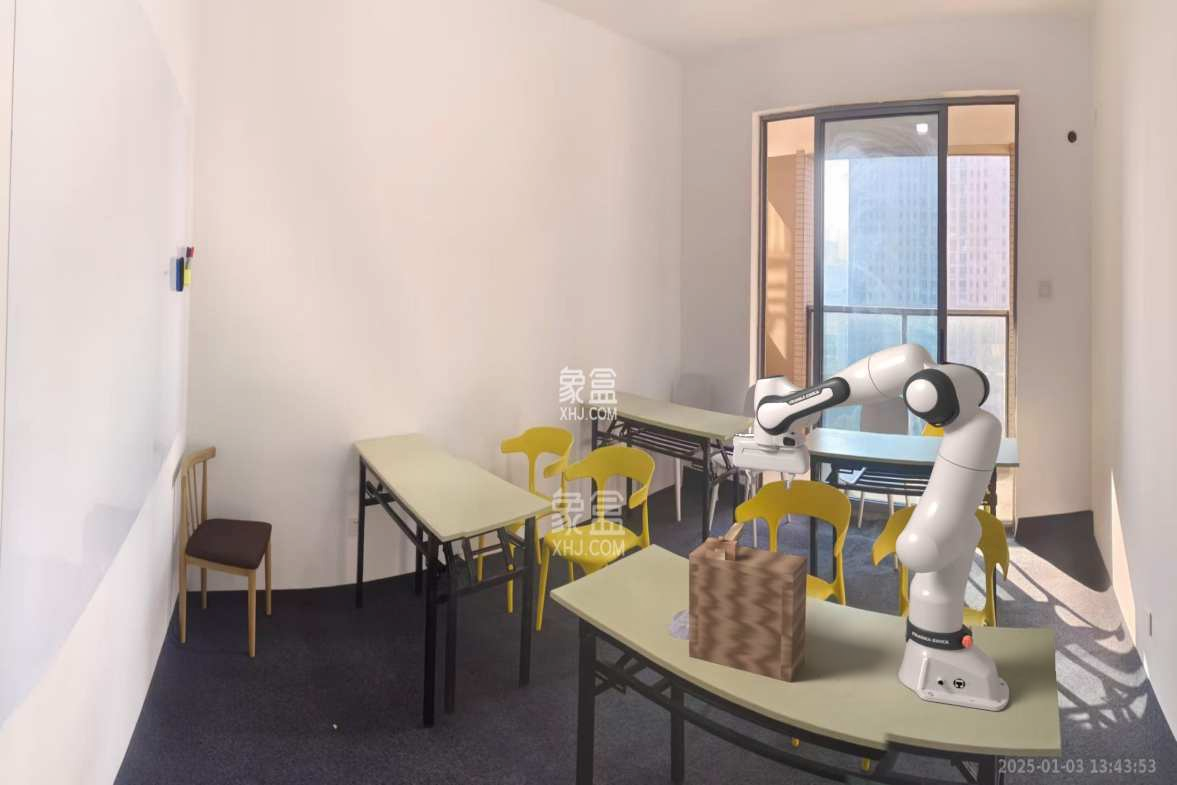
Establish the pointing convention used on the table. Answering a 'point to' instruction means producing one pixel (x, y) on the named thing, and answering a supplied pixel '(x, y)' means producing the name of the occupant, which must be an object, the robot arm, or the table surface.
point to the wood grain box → (749, 611)
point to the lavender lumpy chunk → (680, 625)
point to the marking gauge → (725, 544)
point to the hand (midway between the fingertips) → (769, 486)
